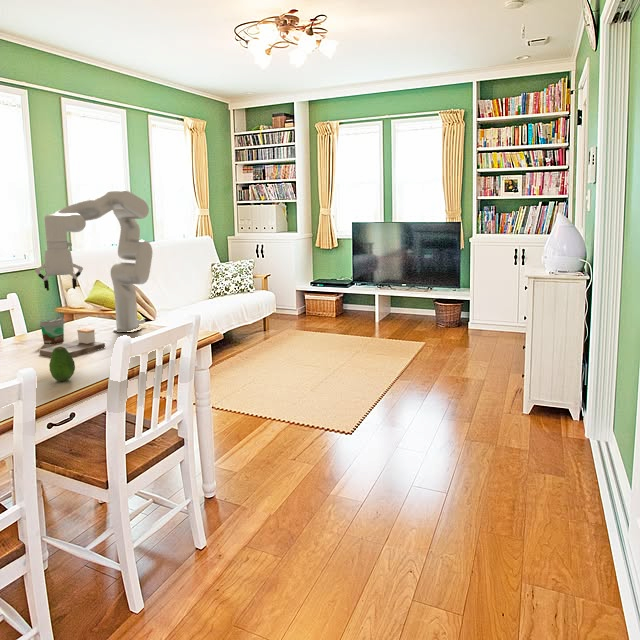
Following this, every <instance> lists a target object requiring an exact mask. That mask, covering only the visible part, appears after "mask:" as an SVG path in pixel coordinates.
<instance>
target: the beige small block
mask: <svg viewBox="0 0 640 640" xmlns="http://www.w3.org/2000/svg"><path fill="white" fill-rule="evenodd" d="M76 331H77V340H78V341H79V342H80V343H85V344H88V343H92V342H96V338H95V337H96V336H95V328H94V329H93V328H87V327H85V328H79V329H77V330H76Z"/></svg>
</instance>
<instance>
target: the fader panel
mask: <svg viewBox="0 0 640 640" xmlns="http://www.w3.org/2000/svg"><path fill="white" fill-rule="evenodd" d="M56 347H64V348H65V349H66V350H67V351H68V352H69V354H70V355H71V356H72V358H74V357H79V356H81V355H82V356H83V355H85V354H88V352H89V353H92V352H95V350H96V351H99V350H102V349H101V348H103V349H105V348H106V343H104V342H99V341H95V342H92V343H88V344H85V343H80V342H79V341H78V339H75V340H73V341H68V342H65V343H59V344H55V345H53V346H49V347H46V348H41V349H39V351H38V352H39V355H40V356H44V355H46V356H45V357H49V356H50V358H51V356H52V352H53V350H54V349H55V348H56ZM104 347H105V348H104ZM98 349H99V350H98Z"/></svg>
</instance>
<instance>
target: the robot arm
mask: <svg viewBox="0 0 640 640" xmlns="http://www.w3.org/2000/svg"><path fill="white" fill-rule="evenodd" d="M111 211H112V212H113V214H114V216H115V218H116V219H117V221H118V223H119V226H120V234H119V240H118V247H117V256H118V257H119V259H121V260H124V261H135V262H123V261H122V262H117V263H115V264H113V265H112V267H111V268H110V278H111V281H112V286H113V292H114V293H113V295H114V309H115V323H116V325H115V327H113V329H112V330H114V331H117V332H127V331H131V330H133V329H136V328H138V327H139V326H141V324H144V323H146V320H145V319H144V318H142V319H141V318H140V319H139V318H138V305H137V303H138V301H137V291H136V288H135V287H134V285H144V284H146V283H147V282H148V280H149V276H150V273H151V266H152V260H153V247H152V245H151V243H150V242H149V241H147V240H144V239H140V236H141V235H140V234H141V228H140V226H139V224H138V222H137V220H142V219H145V218H147V216H149V212H150V208H149V205H148V203H147V201H145V200H144V199H143V198H141V197H139V196H137V195H136V194H134V193H132V192H131V191H129V190H126V189H118V188H117V189H104V190H103V191H101V192H98V193H97V194H96V195H94V196H92V197H91V198H88V199H86V200H82V201H80V202H77V203H74V204H70V205H67V206H65V207H64V206H63V207H62V208H60V209H59V210H57V211H55V212H53V213H52V214H51V213H50V214H46V215H45V216H44V218H43V219H44V228H45V229H44V230H45V241H46V249H45V250H44V258H43V259H44V264H43V265H40V266H39V267H37V268H35V270H34V272H35V273H36V274H37V276H38V277H39V278H40V279H42V280H43V285H44V286H43V287H44V289H46V291H47V292H48V291H50V288H49V286H50V285H49V280H48V278H50V276H64V275H65V276H68V275H70V276H71V277H72V278H71V282H72V289H73V290H76V287H78V284H77V283H78V281H77V279H78V277H79V276H80V275H81V273H82V272H83V270H84V267H83V266H81V265H78V264H75V263H74V262H73V257H72V252H71V249H70V247H73V245H72V242H68V234H67V233H79V232H81V231H84V229H85V227H86V226H87V224H86V223H87V221H93V220H97V219H100V218H101V217H103V216H104V215H106V214H108V213H111ZM74 268H75V269H77V272H76V273H74ZM42 270H44V272H45V274H44V275H43V274H42V273H41V271H42ZM139 324H140V325H139ZM114 331H113V332H114ZM117 332H116V333H117Z"/></svg>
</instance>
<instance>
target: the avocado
mask: <svg viewBox="0 0 640 640" xmlns="http://www.w3.org/2000/svg"><path fill="white" fill-rule="evenodd" d="M73 358H74V357H72V356H71V355H70V354H69V352H68V351H67V350H66V349H65V348H64V347H56V348H55V349H54V350H53V352H52V356H51V357H50V360H49V372H50V374H51V376H52V378H53V379H55V381H58V382H65V381H68V380H69V379H71V378H72V377H73V376H74V374H75V370H76V364H75V360H74V359H73Z"/></svg>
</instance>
